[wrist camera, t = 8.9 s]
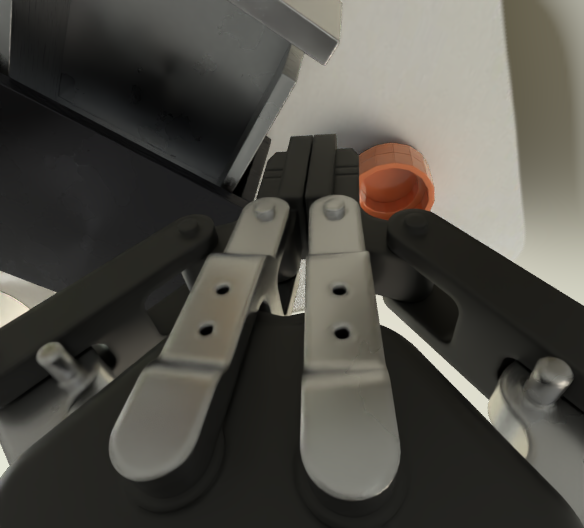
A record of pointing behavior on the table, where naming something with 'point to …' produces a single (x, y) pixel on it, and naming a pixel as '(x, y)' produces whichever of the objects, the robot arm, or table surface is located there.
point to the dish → (394, 180)
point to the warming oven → (91, 192)
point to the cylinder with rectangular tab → (10, 308)
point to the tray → (171, 68)
